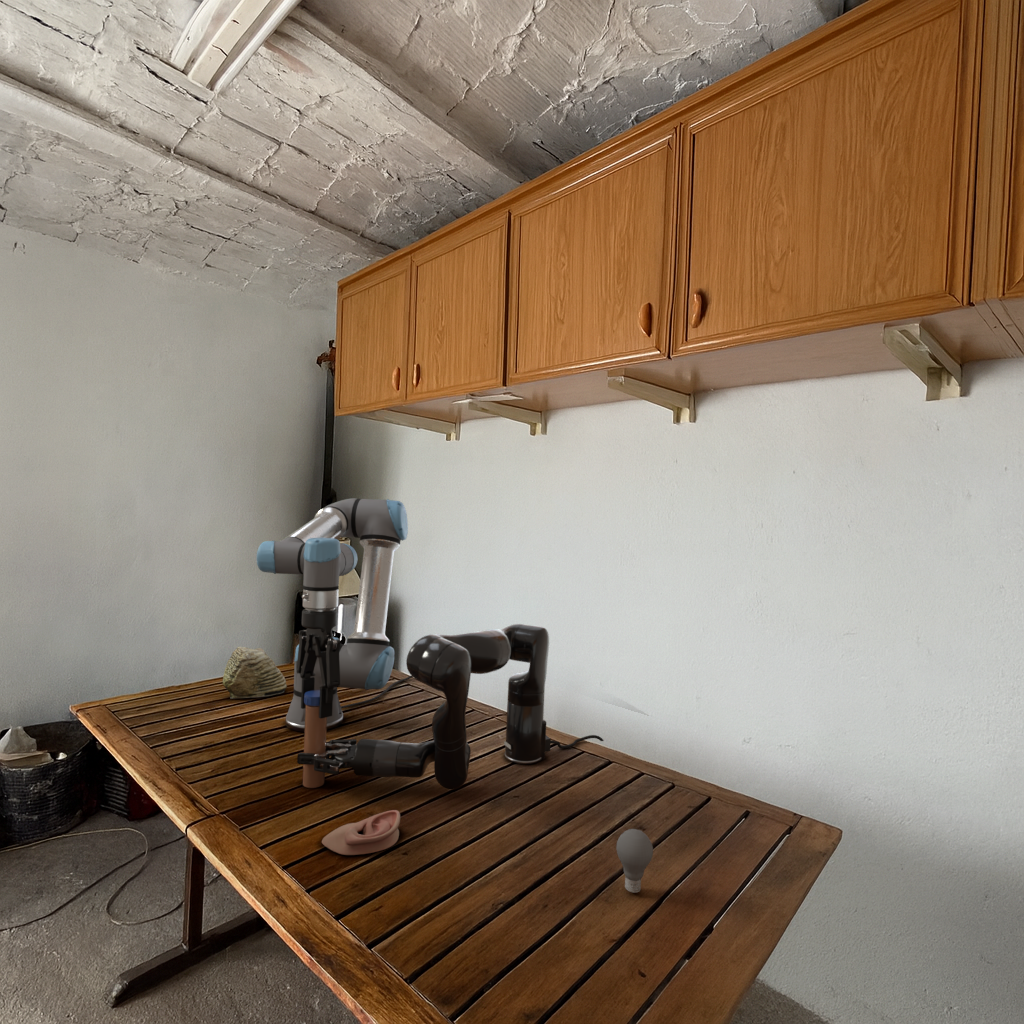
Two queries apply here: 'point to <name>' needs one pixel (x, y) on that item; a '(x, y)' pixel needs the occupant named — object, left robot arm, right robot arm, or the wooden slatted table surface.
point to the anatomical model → (365, 835)
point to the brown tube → (314, 745)
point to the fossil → (252, 674)
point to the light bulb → (634, 857)
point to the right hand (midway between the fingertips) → (302, 753)
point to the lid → (312, 698)
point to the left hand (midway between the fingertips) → (316, 711)
